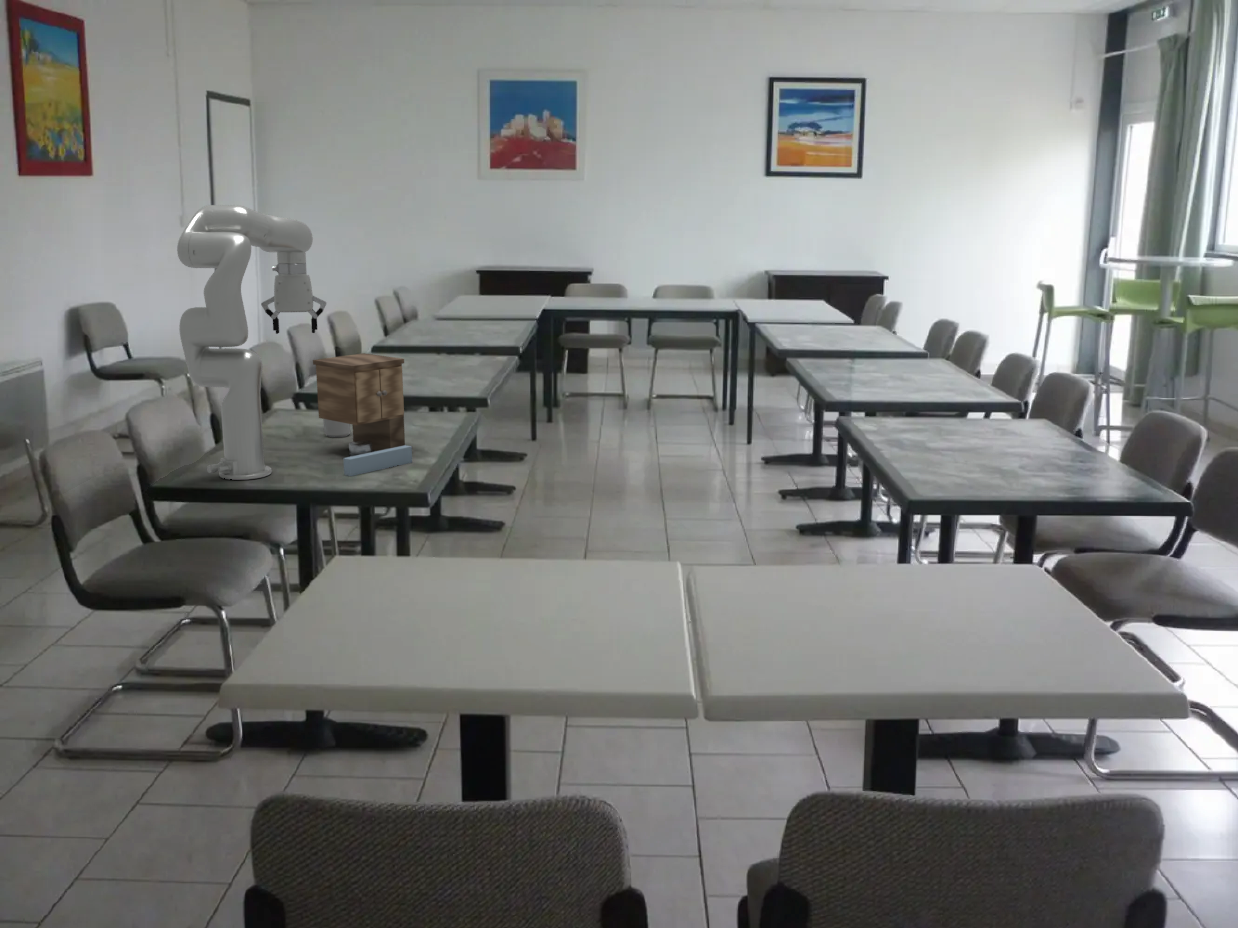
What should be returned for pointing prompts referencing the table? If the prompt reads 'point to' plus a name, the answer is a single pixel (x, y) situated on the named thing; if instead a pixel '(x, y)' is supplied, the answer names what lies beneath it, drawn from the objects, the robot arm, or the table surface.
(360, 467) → the slat
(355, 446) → the puck
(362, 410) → the cabinet
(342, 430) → the can
